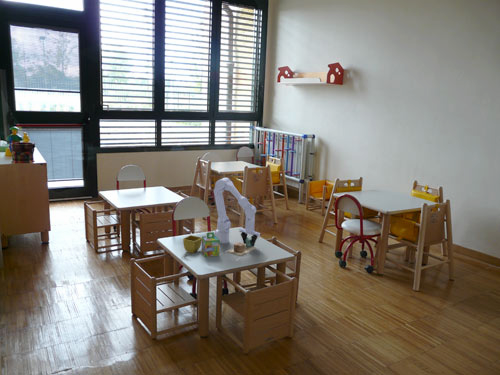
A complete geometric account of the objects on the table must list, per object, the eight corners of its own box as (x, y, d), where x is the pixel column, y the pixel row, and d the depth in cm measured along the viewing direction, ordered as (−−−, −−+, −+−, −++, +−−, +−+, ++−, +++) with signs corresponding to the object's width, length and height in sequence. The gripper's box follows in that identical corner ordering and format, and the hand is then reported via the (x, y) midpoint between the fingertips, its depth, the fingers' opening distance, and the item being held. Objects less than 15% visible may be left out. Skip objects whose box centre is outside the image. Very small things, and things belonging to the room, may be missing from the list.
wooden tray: (227, 253, 265) (228, 244, 264) (244, 245, 281) (244, 236, 280) (241, 257, 260) (241, 248, 259) (257, 248, 276) (257, 239, 275)
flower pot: (202, 250, 269) (202, 237, 267) (194, 255, 261) (194, 241, 259) (190, 248, 272) (190, 234, 270) (182, 252, 265) (182, 238, 263)
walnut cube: (233, 251, 266) (233, 244, 265) (237, 249, 270) (238, 242, 269) (240, 253, 263) (240, 246, 262) (244, 251, 267) (244, 243, 266)
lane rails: (217, 257, 259) (217, 255, 259) (240, 245, 281) (240, 243, 281) (236, 263, 252) (236, 260, 252) (258, 250, 274) (258, 248, 274)
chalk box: (204, 259, 256) (205, 236, 253) (201, 253, 264) (201, 231, 261) (219, 258, 259) (220, 235, 256) (215, 252, 267) (216, 230, 264)
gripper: (237, 223, 273) (236, 243, 276) (256, 228, 266) (255, 248, 269) (243, 221, 279) (242, 240, 282) (262, 225, 272) (261, 245, 275)
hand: (249, 244), depth 276 cm, fingers closed on wooden tray, 6 cm apart
